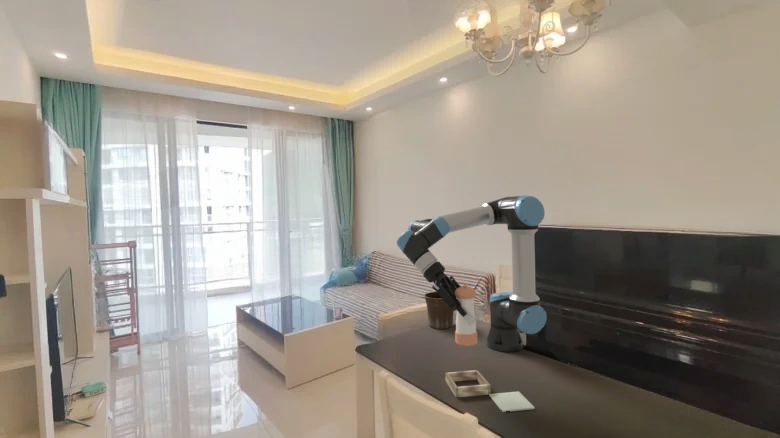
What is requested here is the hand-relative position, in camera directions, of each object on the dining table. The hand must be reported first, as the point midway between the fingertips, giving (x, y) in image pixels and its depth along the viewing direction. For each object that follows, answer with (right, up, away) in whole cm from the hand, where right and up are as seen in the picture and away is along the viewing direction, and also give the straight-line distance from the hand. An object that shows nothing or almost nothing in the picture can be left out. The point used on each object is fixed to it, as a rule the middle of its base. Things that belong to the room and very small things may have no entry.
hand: (476, 320), depth 123 cm
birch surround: (-3, -23, +2) cm, 24 cm away
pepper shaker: (-3, -8, +2) cm, 9 cm away
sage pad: (+9, -23, -8) cm, 26 cm away
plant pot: (-2, -22, +70) cm, 73 cm away
